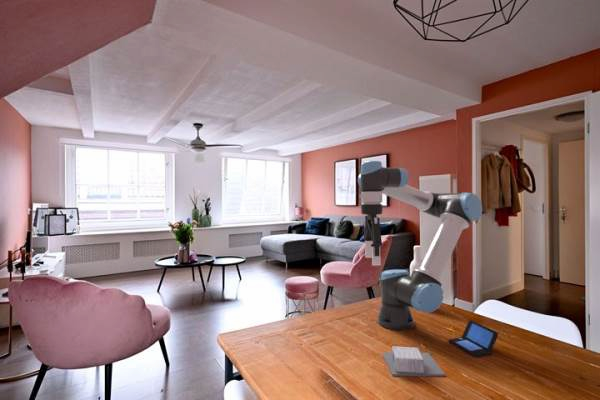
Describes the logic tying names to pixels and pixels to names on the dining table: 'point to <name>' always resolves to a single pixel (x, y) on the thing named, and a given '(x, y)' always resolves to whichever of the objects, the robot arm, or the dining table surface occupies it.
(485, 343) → the handheld game console
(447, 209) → the robot arm
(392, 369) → the mat
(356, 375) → the dining table surface
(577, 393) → the dining table surface
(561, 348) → the dining table surface
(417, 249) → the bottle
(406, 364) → the medicine box
